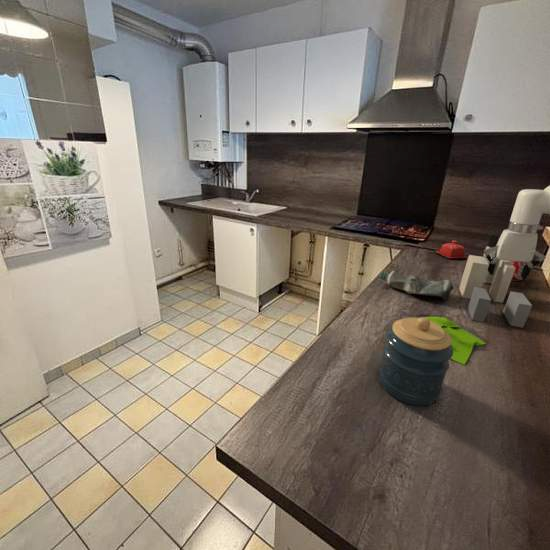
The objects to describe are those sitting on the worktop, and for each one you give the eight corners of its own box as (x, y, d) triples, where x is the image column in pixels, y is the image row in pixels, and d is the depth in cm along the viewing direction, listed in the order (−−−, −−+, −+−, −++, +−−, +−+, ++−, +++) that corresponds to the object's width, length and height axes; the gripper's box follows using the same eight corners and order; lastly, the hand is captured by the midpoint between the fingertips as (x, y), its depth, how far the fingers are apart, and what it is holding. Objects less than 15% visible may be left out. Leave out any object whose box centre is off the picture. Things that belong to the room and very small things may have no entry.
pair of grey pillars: (513, 316, 96) (522, 293, 93) (522, 330, 88) (532, 305, 85) (467, 307, 101) (474, 285, 98) (471, 320, 93) (479, 296, 90)
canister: (453, 400, 63) (477, 331, 56) (403, 413, 59) (421, 341, 52) (411, 361, 74) (426, 300, 67) (367, 370, 71) (378, 307, 64)
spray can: (483, 276, 127) (498, 232, 119) (498, 283, 121) (515, 236, 113) (472, 278, 125) (486, 233, 117) (487, 285, 119) (503, 237, 111)
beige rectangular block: (473, 290, 114) (483, 256, 108) (477, 300, 106) (489, 264, 101) (459, 288, 115) (468, 254, 110) (462, 297, 108) (473, 262, 102)
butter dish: (433, 252, 156) (437, 237, 153) (453, 252, 158) (457, 237, 154) (447, 260, 146) (452, 244, 142) (468, 259, 147) (473, 243, 144)
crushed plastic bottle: (451, 293, 111) (384, 276, 123) (456, 276, 107) (387, 261, 120) (447, 309, 101) (375, 289, 114) (452, 292, 98) (378, 273, 110)
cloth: (445, 315, 95) (447, 309, 95) (507, 358, 76) (510, 351, 75) (389, 321, 91) (391, 315, 90) (440, 368, 72) (442, 361, 71)
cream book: (496, 294, 111) (508, 260, 105) (502, 304, 103) (515, 268, 98) (488, 293, 112) (500, 259, 106) (494, 303, 104) (507, 267, 99)
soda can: (524, 279, 125) (534, 253, 120) (518, 283, 121) (528, 256, 116) (505, 274, 130) (514, 248, 125) (498, 277, 126) (507, 251, 122)
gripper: (550, 227, 97) (533, 275, 103) (488, 223, 103) (476, 268, 110) (560, 233, 91) (540, 283, 97) (493, 228, 97) (479, 275, 104)
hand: (506, 275), depth 103 cm, fingers open, 9 cm apart
